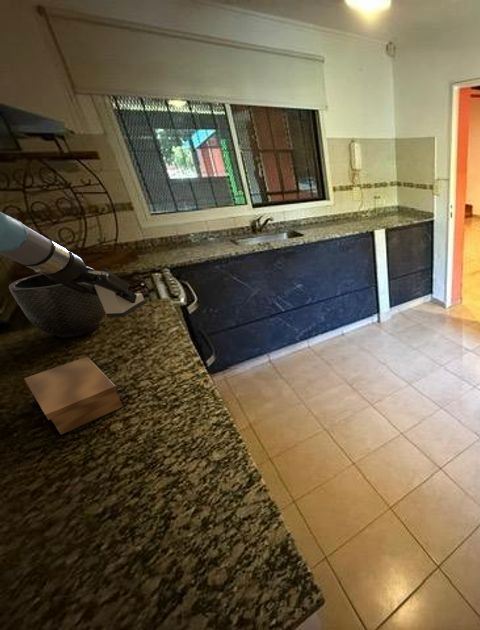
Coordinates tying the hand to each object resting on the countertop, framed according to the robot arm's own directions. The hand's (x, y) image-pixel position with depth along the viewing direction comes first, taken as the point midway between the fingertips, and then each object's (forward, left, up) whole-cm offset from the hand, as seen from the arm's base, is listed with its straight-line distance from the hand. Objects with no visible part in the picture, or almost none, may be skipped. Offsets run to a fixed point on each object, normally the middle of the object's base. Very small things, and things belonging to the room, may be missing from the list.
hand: (125, 299), depth 104 cm
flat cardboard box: (+25, -16, -15) cm, 33 cm away
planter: (-25, -14, -15) cm, 33 cm away
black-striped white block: (+1, -1, -3) cm, 3 cm away
